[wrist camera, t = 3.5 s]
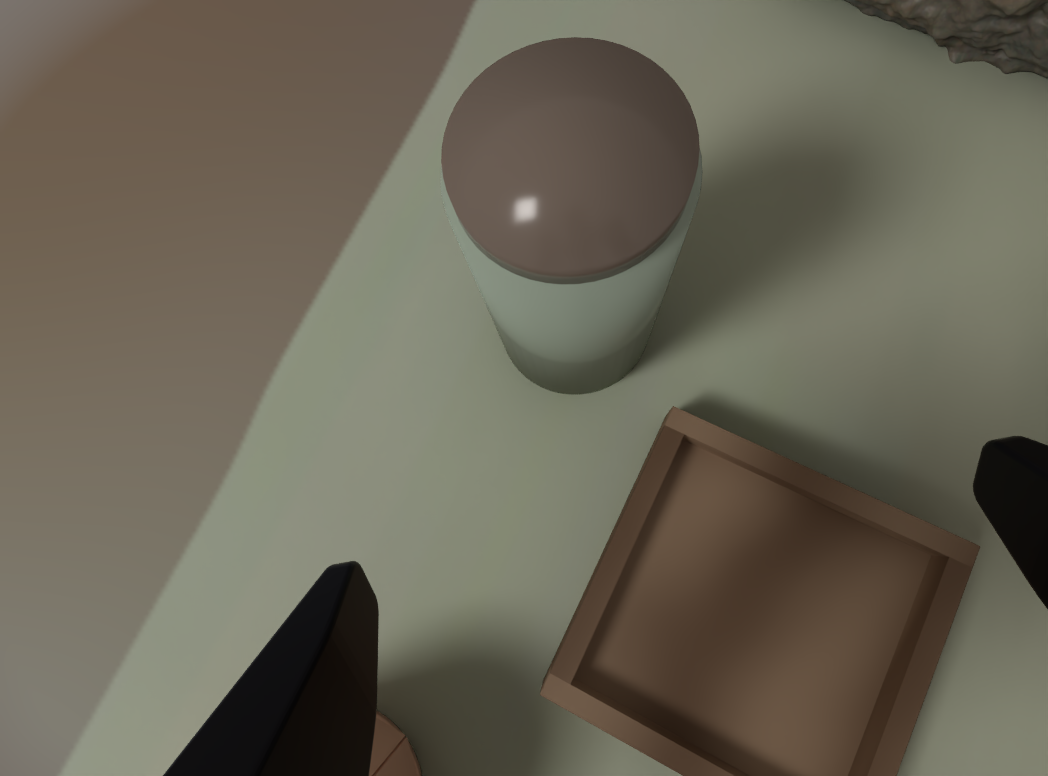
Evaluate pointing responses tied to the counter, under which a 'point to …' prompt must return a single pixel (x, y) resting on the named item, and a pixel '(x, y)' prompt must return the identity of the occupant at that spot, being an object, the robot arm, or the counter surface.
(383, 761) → the terracotta cup
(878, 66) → the counter surface
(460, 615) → the counter surface
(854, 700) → the walnut tray
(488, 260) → the spice jar
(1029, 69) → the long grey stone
